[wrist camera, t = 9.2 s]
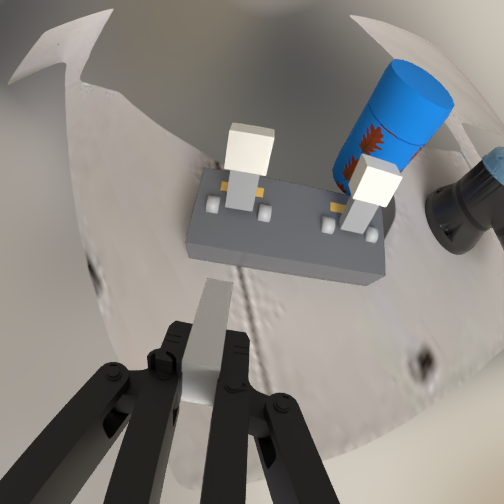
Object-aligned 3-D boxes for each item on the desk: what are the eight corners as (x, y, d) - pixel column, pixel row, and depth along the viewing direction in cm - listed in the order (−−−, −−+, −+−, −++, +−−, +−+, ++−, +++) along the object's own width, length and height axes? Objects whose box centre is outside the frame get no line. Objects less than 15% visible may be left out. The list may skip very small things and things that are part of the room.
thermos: (320, 168, 50) (375, 60, 27) (354, 149, 53) (409, 57, 30) (359, 212, 48) (441, 117, 25) (390, 188, 51) (462, 104, 28)
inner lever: (363, 223, 40) (395, 164, 32) (367, 238, 38) (402, 177, 30) (333, 216, 40) (361, 153, 31) (336, 231, 38) (367, 165, 29)
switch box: (364, 220, 47) (384, 200, 41) (366, 286, 43) (389, 273, 36) (205, 189, 46) (204, 162, 39) (189, 257, 41) (184, 238, 35)
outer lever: (258, 202, 39) (274, 129, 32) (257, 215, 37) (274, 137, 29) (222, 196, 39) (232, 122, 31) (219, 208, 37) (229, 129, 29)
